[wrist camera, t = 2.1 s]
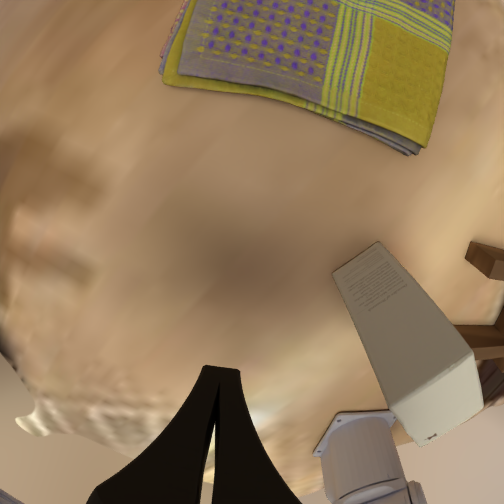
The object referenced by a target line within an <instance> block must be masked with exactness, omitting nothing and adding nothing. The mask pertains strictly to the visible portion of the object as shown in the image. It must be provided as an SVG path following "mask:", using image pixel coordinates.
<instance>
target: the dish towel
mask: <svg viewBox="0 0 504 504" xmlns="http://www.w3.org/2000/svg"><path fill="white" fill-rule="evenodd" d="M454 4H455V0H184V2H183V4H182V6H181V9H180V12H179V14H178V15H177V17H176V20H175V23H174V25H173V27H172V28H171V33H170V35H169V36H168V40H167V41H166V43H165V45H164V47H163V49H162V51H161V54H160V57H161V58H163V59H162V62H161V65H160V68H159V70H158V71H159V74H161V75H163V77H162V82H163V83H164V84H166V85H170V86H177V87H189V88H199V89H206V90H213V91H221V92H231V93H242V94H251V95H257V96H262V97H267V98H271V99H275V100H279V101H283V102H287V103H290V104H293V105H295V106H299V107H302V108H304V109H307V110H309V111H311V112H313V113H316V114H318V115H321V116H324V117H326V118H329V119H331V120H333V121H336V122H338V123H341V124H343V125H346V126H348V127H350V128H353V129H355V130H358V131H360V132H363V133H365V134H367V135H369V136H371V137H373V138H375V139H377V140H379V141H381V142H383V143H385V144H386V145H388V146H390V147H391V148H393V149H395V150H397V151H399V152H401V153H403V154H404V155H406V156H410V155H411V154H414V155H418V154H419V151H420V149H421V147H422V148H426V147H427V144H428V141H429V138H430V135H431V131H432V128H433V124H434V121H435V117H436V113H437V109H438V105H439V101H440V97H441V93H442V88H443V83H444V77H445V71H446V65H447V60H448V55H449V52H450V47H451V40H452V30H453V20H454V19H453V16H454V6H455V5H454Z"/></svg>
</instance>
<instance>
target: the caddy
mask: <svg viewBox="0 0 504 504" xmlns="http://www.w3.org/2000/svg"><path fill="white" fill-rule="evenodd" d="M465 259H466V260H467V261H469V262H470V263H471V264H472V265H473V266H475V267H476V268H477V269H478V270H479V271H481V272H482V273H483V274H484V275H485V276H486V277H488V278H489V279H495V280H502V281H504V250H502V249H498V248H494V247H490V246H487V245H483V244H479V243H475V242H470V245H469V248H468V251H467V254H466V257H465ZM453 326H454V327H455V328H456V330H457V331H458V332H459V334H460V335H461V336H462V337H463V339H464V340H465V341H466V343H467V344H468V345H469V347H470V348H471V349H472V351H473V352H474V357H475V360H484V359H493V361H494V362H495V363H496V365H497V366H498V368H499V369H500V370H501V372H502V373H503V372H504V307H503V309H502V311H501V313H500V315H499V317H498V319H497V321H496V323H495V325H494V326H481V325H453Z"/></svg>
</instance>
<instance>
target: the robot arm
mask: <svg viewBox="0 0 504 504" xmlns="http://www.w3.org/2000/svg"><path fill="white" fill-rule="evenodd" d="M396 419H397V418H396V417H395V416H394V415H393V413H392V412H391V411H390V410H389V411H375V412H355V413H339V414H337V415H336V416H335V418H334V420H333V422H332V423H331V425H330V427H329V428H328V430H327V431H326V433H325V435H324V436H323V438H322V439H321V441H320V443H319V444H318V446H317V447H316V449H315V450H314V452H313V456H314V457H320V458H321V465H322V473H323V480H324V488H325V494H326V496H327V498H328V500H329V501H330V502H331V503H332V504H427V502H426V499H425V496H424V492H423V490H422V487H421V484H420V483H418V482H415V481H410V482H407V481H406V479H405V475H404V472H403V469H402V466H401V462H400V459H399V456H398V452H397V450H396V446H395V443H394V440H393V437H392V434H391V431H390V427H391V426H392V425H393V423H394V422H395V421H396ZM214 425H215V474H214V485H213V495H212V504H302V503H301V502H300V501H299V499H298V498H297V497H296V496H295V495H294V493H293V492H292V491H291V490H290V488H289V487H288V486H287V484H286V483H285V481H284V480H283V479H282V477H281V476H280V474H279V473H278V471H277V470H276V468H275V467H274V465H273V463H272V462H271V460H270V458H269V456H268V455H267V453H266V451H265V449H264V447H263V445H262V443H261V441H260V439H259V437H258V434H257V432H256V430H255V427H254V425H253V422H252V420H251V417H250V414H249V411H248V408H247V405H246V401H245V398H244V394H243V389H242V384H241V377H240V371H239V370H238V369H232V368H224V367H217V366H210V365H205V366H203V367H202V370H201V373H200V375H199V377H198V380H197V382H196V383H195V385H194V387H193V389H192V391H191V392H190V394H189V396H188V397H187V399H186V400H185V402H184V404H183V405H182V407H181V408H180V409H179V411H178V412H177V414H176V415H175V416H174V418H173V419H172V420H171V422H170V423H169V424H168V425H167V427H166V428H165V429H164V430H163V431H162V432H161V434H160V435H159V436H158V437H157V438H156V439H155V440H154V441H153V442H152V443H151V444H150V445H149V446H148V447H147V448H146V449H145V450H144V451H143V452H142V453H141V454H140V455H139V456H138V457H136V458H135V459H134V460H133V461H132V462H130V463H129V464H128V465H127V466H125V467H124V468H123V469H122V470H120V471H119V472H118V473H117V474H115V475H113V476H112V477H110V478H109V479H107V480H106V481H104V482H103V483H101V484H100V485H98V486H97V487H96V488H95V489H94V491H93V492H92V494H91V495H90V497H89V499H88V501H87V503H86V504H200V499H201V490H202V482H203V474H204V468H205V464H206V459H207V455H208V451H209V446H210V442H211V438H212V433H213V429H214ZM0 504H24V503H22V502H21V501H19V500H17V499H16V498H14V497H12V496H11V495H9V494H8V493H6V492H4V491H3V490H1V489H0Z"/></svg>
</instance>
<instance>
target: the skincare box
mask: <svg viewBox="0 0 504 504" xmlns="http://www.w3.org/2000/svg"><path fill="white" fill-rule="evenodd" d="M332 276H333V278H334V281H335V283H336V285H337V287H338V289H339V291H340V293H341V296H342V298H343V300H344V302H345V304H346V307H347V309H348V311H349V313H350V316H351V318H352V320H353V322H354V325H355V327H356V329H357V332H358V334H359V336H360V339H361V341H362V343H363V346H364V348H365V351H366V353H367V356H368V358H369V360H370V363H371V365H372V368H373V370H374V372H375V375H376V377H377V379H378V382H379V385H380V387H381V390H382V392H383V395H384V397H385V400H386V403H387V405H388V408H389V409H390V411H391V412H392V413H393V415H394V416H395V417H396V418H397V420H398V421H399V422H400V423H401V425H402V426H403V428H404V430H405V432H406V433H407V434H408V435H409V436H410V437H411V438H412V439H413V440H414V441H415V442H416V444H417V445H418V446H419V447H423V446H425V445H427V444H428V443H430V442H432V441H434V440H435V439H437V438H439V437H440V436H442V435H444V434H446V433H447V432H449V431H451V430H452V429H454V428H455V427H457V426H458V425H460V424H462V423H463V422H465V421H466V420H468V419H469V418H470V417H472V416H473V415H475V414H476V413H477V412H478V411H480V410H481V409H482V408H483V407H484V405H483V397H482V390H481V385H480V380H479V376H478V371H477V366H476V362H475V357H474V352H473V351H472V349H471V348H470V347H469V345H468V344H467V343H466V341H465V340H464V339H463V337H462V336H461V335H460V334H459V332H458V331H457V330H456V328H455V327H454V326H453V325H452V323H451V322H450V321H449V320H448V319H447V317H446V316H445V315H444V313H443V312H442V311H441V310H440V308H439V307H438V306H437V305H436V304H435V303H434V301H433V300H432V299H431V298H430V297H429V296H428V294H427V293H426V292H425V291H424V290H423V288H422V287H421V286H420V285H419V284H418V283H417V282H416V280H415V279H414V278H413V277H412V276H411V275H410V274H409V273H408V272H407V271H406V269H405V268H404V267H403V266H402V265H401V264H400V263H399V262H398V261H397V260H396V259H395V257H394V256H393V255H392V254H391V253H390V252H389V251H388V250H387V249H386V248H385V247H384V246H383V245H382V244H381V243H380V242H377V243H375V244H374V245H372V246H371V247H370V248H368V249H367V250H365V251H364V252H363V253H361V254H360V255H358V256H357V257H355V258H354V259H353V260H351V261H350V262H348V263H347V264H345V265H344V266H342V267H341V268H339V269H338V270H336V271H335V272H333V273H332Z"/></svg>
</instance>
